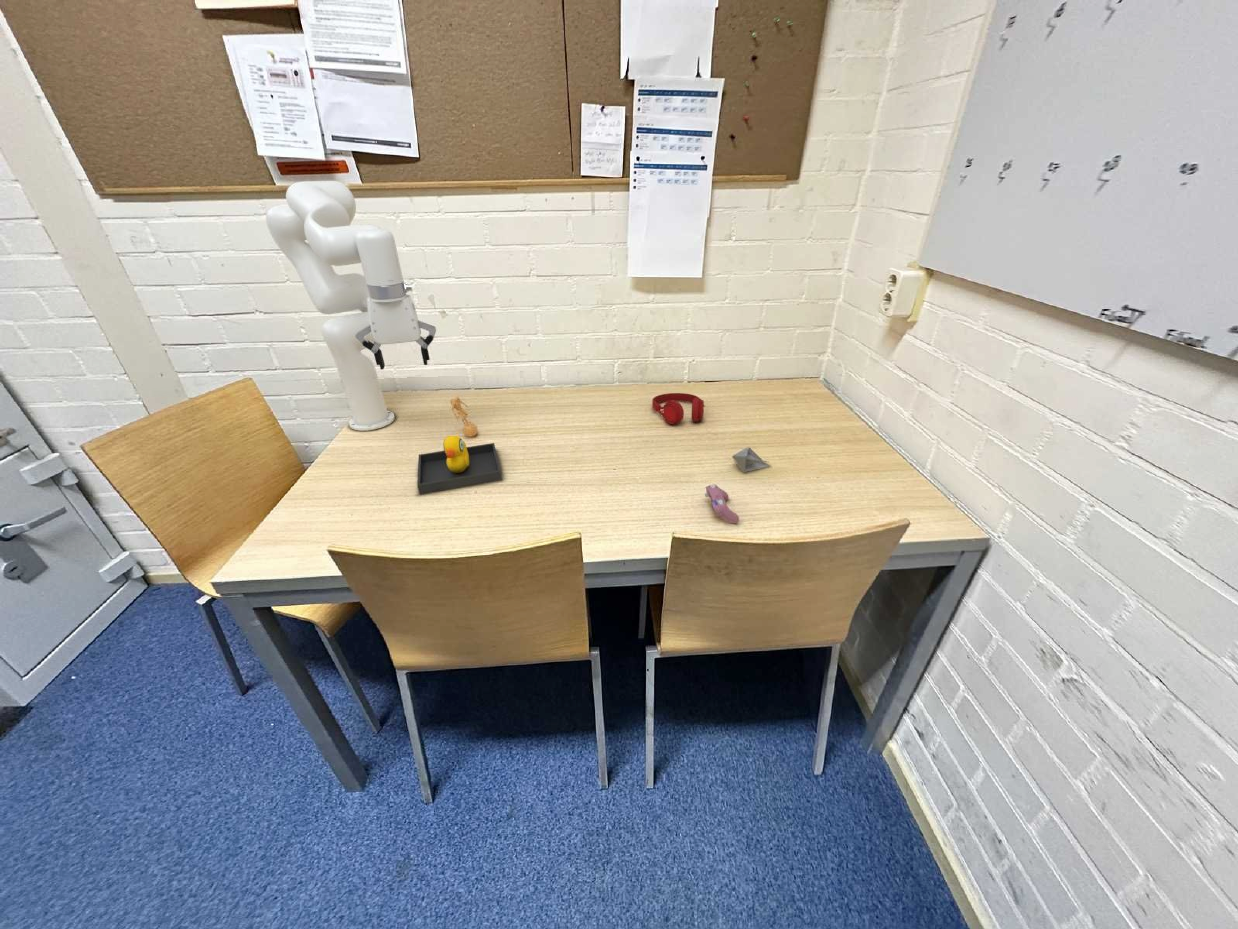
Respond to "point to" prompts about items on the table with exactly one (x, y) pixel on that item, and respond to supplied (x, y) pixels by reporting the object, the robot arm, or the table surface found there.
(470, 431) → the figurine
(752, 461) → the paper boat
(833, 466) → the table surface
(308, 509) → the table surface
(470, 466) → the pan
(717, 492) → the pink elongated piece
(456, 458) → the duckling
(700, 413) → the headphones
